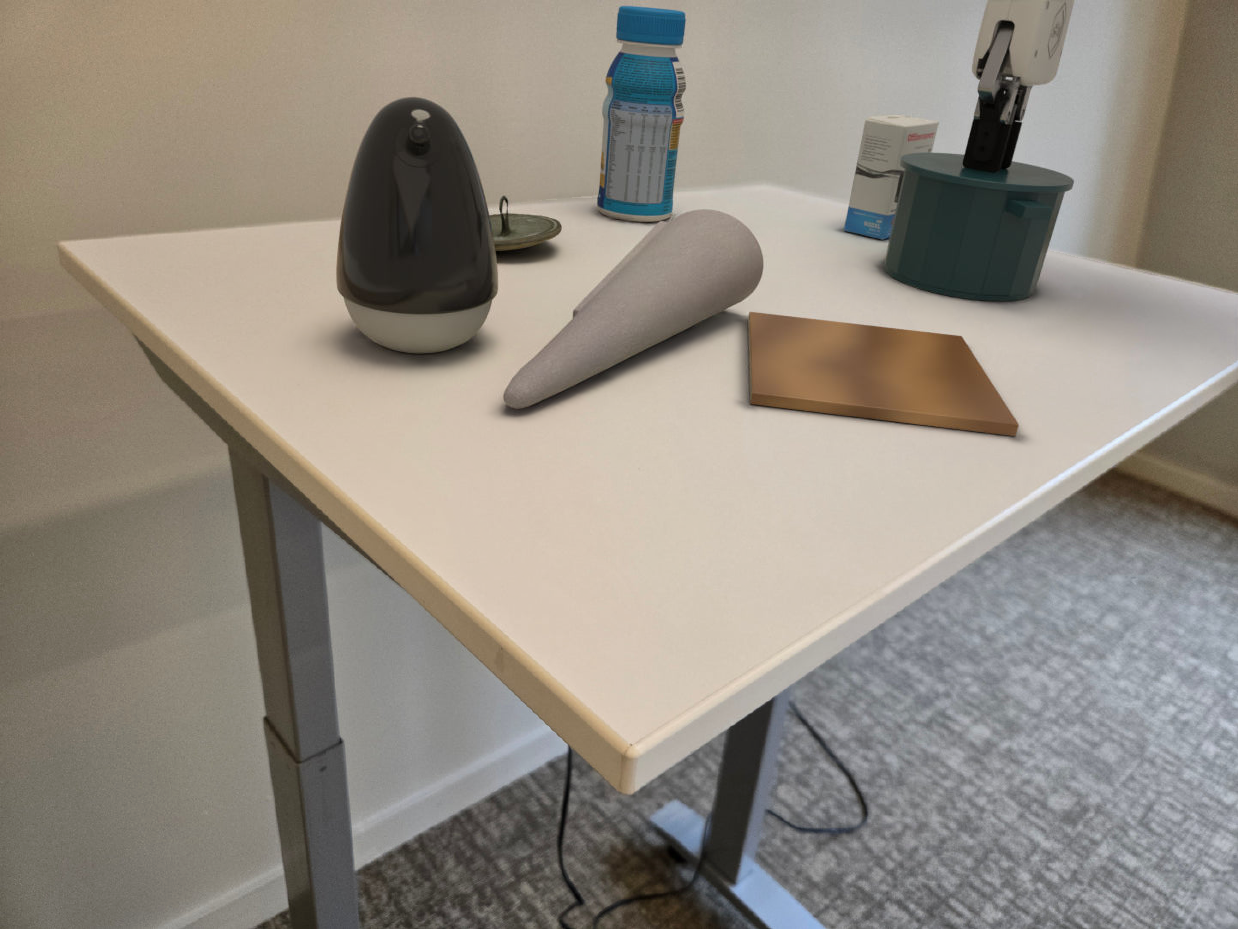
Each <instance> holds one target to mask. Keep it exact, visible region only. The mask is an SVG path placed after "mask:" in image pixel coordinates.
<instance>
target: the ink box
mask: <svg viewBox="0 0 1238 929" xmlns="http://www.w3.org/2000/svg"><path fill="white" fill-rule="evenodd" d="M939 125H940V122H939V121H937V120H931V119H925V118H921V117H915V116H910V115H905V114H889V115H888V114H887V115H874V116H868V117H867V118H866V119H865V120H864V125H863V131H862V135H861V140H860V145H859V150H858V151H859V152H858V156H857V161H856V167H855V171H854V176H853V181H852V186H851V190H850V191H851V193H850V197H849V202H848V207H847V212H846V217H845V222H844V226H843V231H846V232H849V233H853V234H858V235H861V236H864V237H865V236H866V237H870V238H873V239H878V240H886V239H890V234H891V230H892V225H893V220H894V216H895V211H896V207H897V202H898V198H899V193H900V189H901V184H902V179H903V175H904V170H905V169H904V168H903V167H901V165H900V161H901V157H902V156H903V155H906V154H911V153H933V149H934V144H935V141H936V136H937V133H938V128H939Z"/></svg>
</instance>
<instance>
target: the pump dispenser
mask: <svg viewBox="0 0 1238 929" xmlns="http://www.w3.org/2000/svg"><path fill="white" fill-rule="evenodd" d="M360 141H361V142H360V143H359V146H358V149H357V152H356V155H355V158H354V161H353V164H352V168H351V171H350V176H349V180H348V184H347V188H346V193H345V198H344V204H343V208H342V212H341V220H340V226H339V232H338V233H339V234H338V241H337V242H338V244H337V250H336V251H337V252H336V253H337V254H336V263H335V264H336V266H335V267H336V268H335V275H336V276H335V278H336V280H335V281H336V289H337V291H338V293H339V295H341V297H342V298H343V301H344V305H345V307H346V310H347V312H348V314H349V317H350V319H351V320H352V321H353V323H354V324H355V326H356V328H358V330H359V331H360V332H361V333H362V334H363V335H365V337H367V338H368V339H370V340H371V341H372V342H374V343H376V344H377V345H380V346H382V347H384V348H387V349H390V350H393V351H396V352H400V353H406V354H419V355H421V354H435V353H440V352H441V353H442V352H446V351H448V350H451V349H454V348H457V347H459V346H461V345H463V344H465V343H466V342H468V341H469V340H470V339H472V338H473V337H474V336H475V335H476V334H477V333H478V332H479V330H480V329H482V327H483V325H484V323H485V322H486V320H487V318H488V316H489V313H490V311H491V308H492V303H493V300H494V299H495V298H496V297H497V295H498V291H499V268H498V259H497V258H498V257H497V251H495V243H494V237H493V231H492V225H491V220H490V215H491V214H490V211H489V207H488V203H487V199H486V194H485V191H484V187H483V184H482V180H481V176H480V172H479V169H478V166H477V163H476V161H475V158H474V155H473V152H472V149H471V147H470V145H469V143H468V141H467V139H466V136H465V135H464V133H463V131H462V130H461V127H460V126H459V124H458V123H457V121H456V120H455V118H454V117H453V116H452V115H451V113H450V112H449V111H447V110H446V109H445V108H444V107H443V106H441V105H440V104H438V103H436V102H434V101H432V100H430V99H427V98H425V97H419V96H406V97H402V98H401V97H400V98H397V99H395V100H393V101H391V102H389V103H387V104H385V105H384V106H383V107H382V108H380V109H379V111H378V112H376V115H375V116H374V117H373V119H372V120H371V122H370V123H369V125H368V127H367V129H366V130H365V132H364V135H363V137H362V139H361V140H360Z"/></svg>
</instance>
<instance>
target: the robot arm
mask: <svg viewBox="0 0 1238 929" xmlns="http://www.w3.org/2000/svg"><path fill="white" fill-rule="evenodd" d="M1074 2H1075V0H987V1H986V5H985V9H984V12H983V16H982V20H981V23H980V28H979V31H978V34H977V39H976V44H975V48H974V53H973V57H972V64H971V65H972V66H971V73H972V74H973V76H974V77H975V78H976V80H979V82H978V85H977V89H976V90H977V93H978V97H977V101H976V104H975V108H974V112H973V119H972V122H971V126H970V130H969V135H968V139H967V143H966V146H965V151H964V154H963V155H964V159H963V163H962V164H963V166H964V167H966V168H971V169H976V170H982V171H988V172H994V173H995V172H998V171H999V170H1000V168H1002V169H1006V168H1009V167H1010V166H1011V163H1012V161H1013V158H1014V155H1015V151H1016V148H1017V144H1018V140H1019V137H1020V133H1021V129H1022V125H1023V120H1024V117H1025V114H1026V110H1027V106H1028V103H1029V100H1030V95H1031V91H1032V89H1033V87H1035V86H1042V85H1047V84H1049V83H1050V82H1052V81H1053V80H1054V79H1055V78H1056V76H1057V73H1058V71H1059V70H1058V69H1059V66H1060V62H1061V59H1062V58H1061V57H1062V53H1063V50H1064V45H1065V42H1066V37H1067V33H1068V29H1069V24H1070V21H1071V16H1072V13H1073V9H1074V8H1073V7H1074ZM1014 103H1015V104H1017V107H1016V111H1015V115H1014V119H1013V122H1012V124H1007V123H1008V122H1009V119H1010V116H1011V112H1012V109H1013V105H1014Z"/></svg>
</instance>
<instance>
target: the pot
mask: <svg viewBox="0 0 1238 929" xmlns="http://www.w3.org/2000/svg"><path fill="white" fill-rule="evenodd" d="M1065 194H1066V192H1060V193H1025V192H1012V191H1002V190H993V189H986V188H979V187H973V186H966V185H961V184H955V183H950V182H946V181H941V180H937V179H933V178H929V177H925V176H922V175H919V174H916V173H913V172H910V171H908V170H906V169H905V170H904V175H903V179H902V184H901V189H900V193H899V198H898V202H897V207H896V211H895V216H894V220H893V225H892V230H891V234H890V237H889V238H888V244H887V249H886V252H885V256H884V257H885V258H884V265H883V269H884V272H886V274H887V275H889V276H890V277H892V278H893V279H895V280H897V281H899V282H901V283H903V284H905V285H908V286H911V287H913V288H917V289H920V290H924V291H926V292H931V293H935V294H939V295H941V296H942V295H943V296H948V297H954V298H958V299H959V298H960V299H966V300H973V301H983V302H984V301H985V302H986V301H987V302H1013V301H1020V300H1024V299H1027V298H1029V297H1031V296H1032V295H1033V294H1034V291H1035V290H1036V289H1037V286H1038V283H1039V281H1040V280H1039V279H1040V276H1041V273H1042V270H1043V267H1044V263H1045V259H1046V256H1047V254H1048V250H1049V246H1050V243H1051V239H1052V236H1053V234H1054V230H1055V227H1056V224H1057V220H1058V216H1059V213H1060V210H1061V206H1062V204H1063V200H1064V197H1065Z"/></svg>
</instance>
